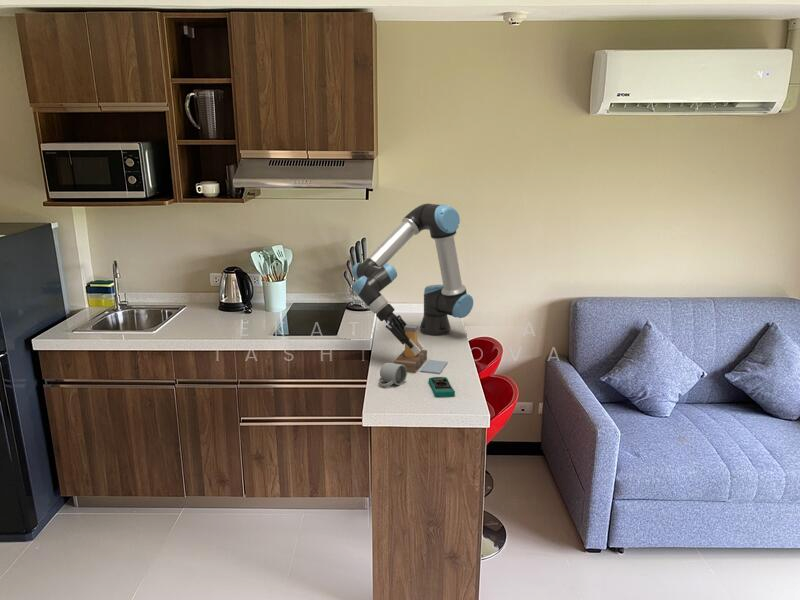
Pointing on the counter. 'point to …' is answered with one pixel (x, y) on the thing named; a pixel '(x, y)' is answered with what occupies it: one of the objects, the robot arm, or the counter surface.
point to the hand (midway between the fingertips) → (419, 351)
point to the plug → (411, 334)
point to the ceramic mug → (392, 374)
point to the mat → (434, 366)
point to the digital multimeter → (441, 387)
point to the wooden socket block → (412, 361)
